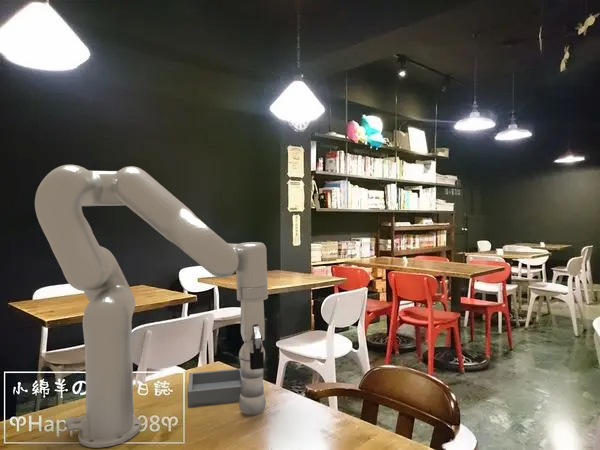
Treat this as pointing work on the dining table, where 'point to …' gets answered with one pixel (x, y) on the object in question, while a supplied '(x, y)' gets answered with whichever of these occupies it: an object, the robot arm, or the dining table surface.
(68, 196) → the robot arm
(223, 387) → the grey bin
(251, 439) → the dining table surface
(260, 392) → the plastic bottle
